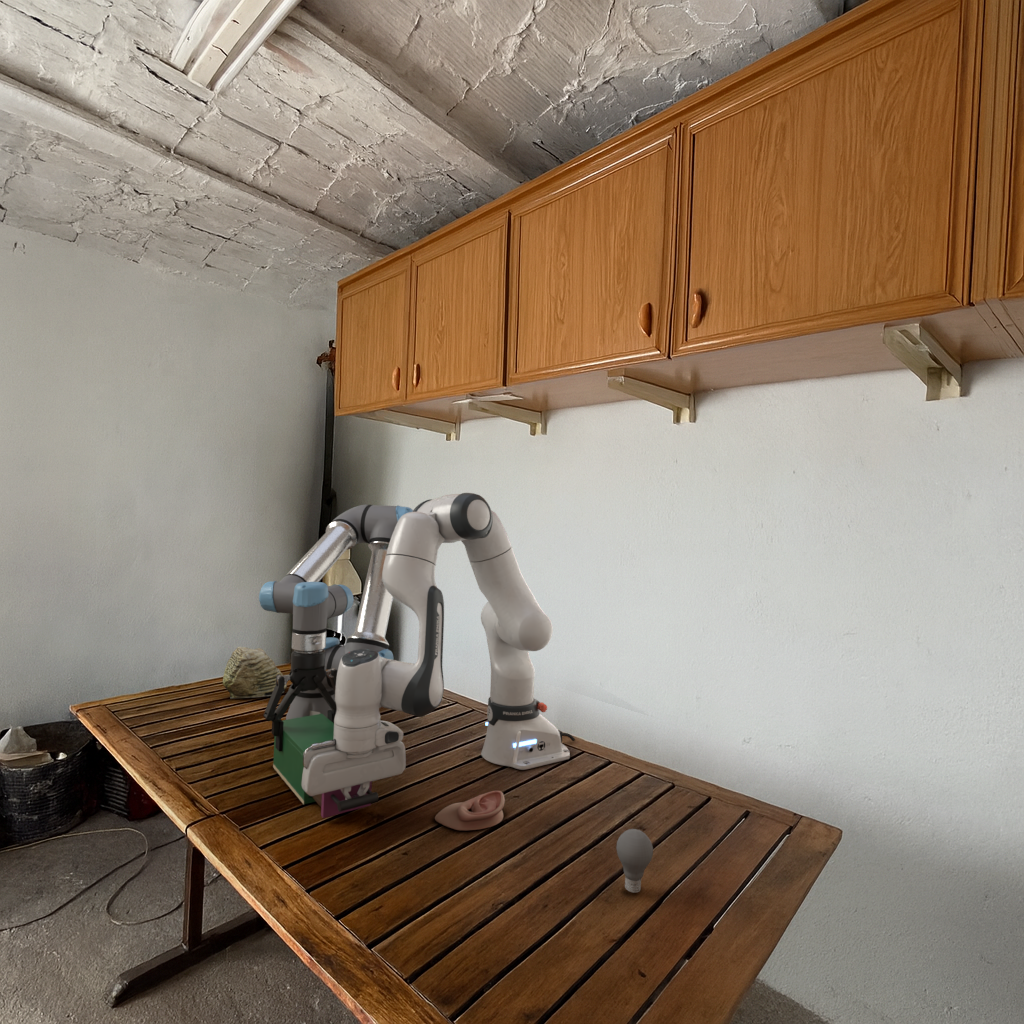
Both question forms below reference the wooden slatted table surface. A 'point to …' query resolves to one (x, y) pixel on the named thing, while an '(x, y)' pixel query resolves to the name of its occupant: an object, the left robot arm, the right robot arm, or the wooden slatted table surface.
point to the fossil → (250, 674)
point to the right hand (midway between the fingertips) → (354, 805)
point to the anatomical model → (474, 812)
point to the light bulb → (634, 857)
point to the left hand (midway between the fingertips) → (305, 744)
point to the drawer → (344, 801)
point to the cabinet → (300, 749)
